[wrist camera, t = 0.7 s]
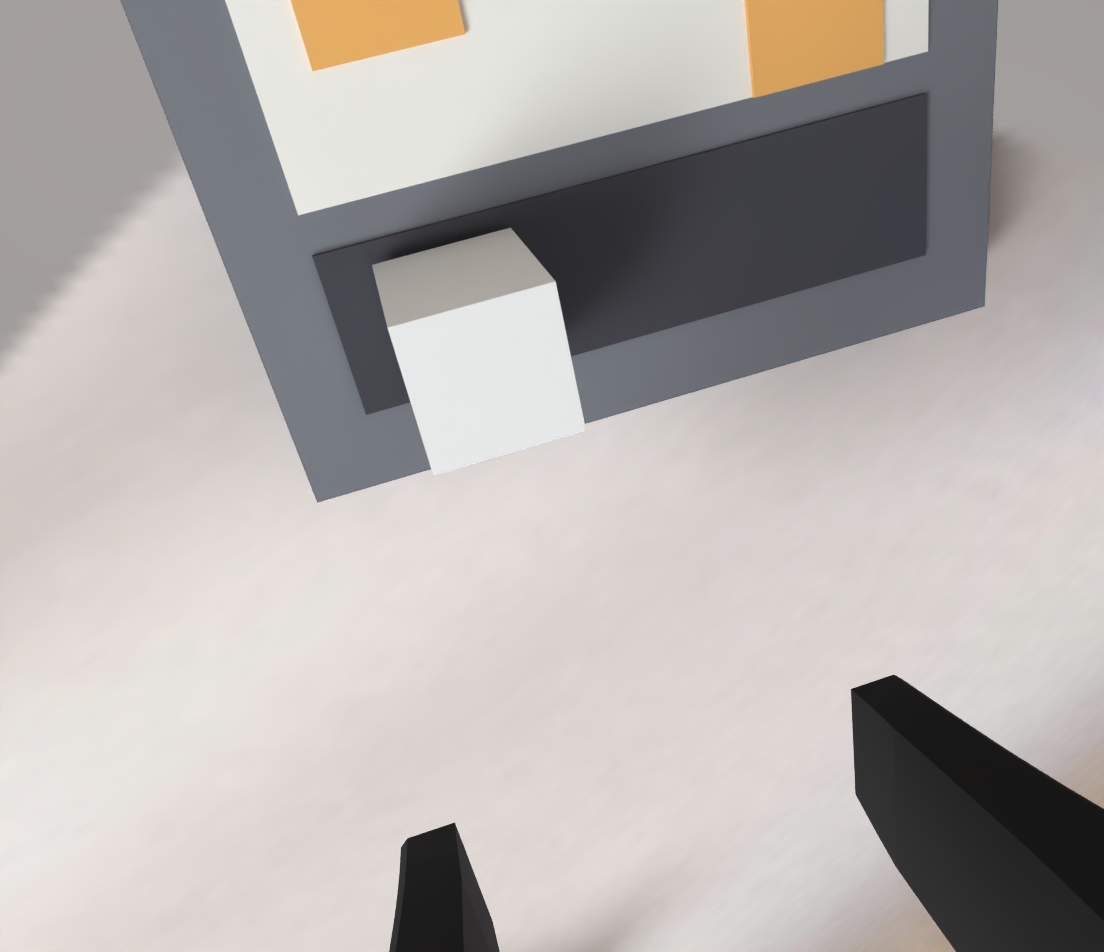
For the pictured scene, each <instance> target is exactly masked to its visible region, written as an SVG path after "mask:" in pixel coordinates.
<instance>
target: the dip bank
mask: <svg viewBox="0 0 1104 952" xmlns="http://www.w3.org/2000/svg"><path fill="white" fill-rule="evenodd" d="M121 3H122V5H123V8H124V11H125V13H126V16H127V18H128V21H129V23H130V26H131V29H132V31H133V34H134V36H135V39H136V41H137V43H138V46H139V49H140V51H141V54H142V56H143V59H144V62H145V64H146V67H147V69H148V72H149V74H150V77H151V79H152V82H153V85H154V87H155V90H156V92H157V95H158V97H159V100H160V102H161V105H162V108H163V110H164V113H165V115H166V118H167V120H168V123H169V125H170V128H171V130H172V133H173V135H174V138H175V141H176V143H177V146H178V148H179V151H180V153H181V156H182V159H183V161H184V164H185V166H186V169H187V171H188V174H189V176H190V179H191V181H192V184H193V187H194V189H195V192H196V194H197V197H198V199H199V202H200V204H201V207H202V210H203V212H204V215H205V217H206V220H207V222H208V225H209V227H210V230H211V232H212V235H213V238H214V240H215V243H216V245H217V248H218V250H219V253H220V255H221V258H222V261H223V263H224V266H225V268H226V271H227V273H228V276H229V278H230V281H231V283H232V286H233V289H234V291H235V294H236V296H237V299H238V301H239V304H240V306H241V309H242V311H243V314H244V317H245V319H246V322H247V324H248V327H249V329H250V332H251V334H252V337H253V340H254V342H255V345H256V347H257V350H258V352H259V355H260V357H261V360H262V362H263V365H264V368H265V370H266V373H267V375H268V378H269V380H270V383H271V385H272V388H273V391H274V393H275V396H276V398H277V401H278V403H279V406H280V408H281V411H282V413H283V416H284V419H285V421H286V424H287V426H288V429H289V431H290V434H291V436H292V439H293V442H294V444H295V447H296V449H297V452H298V454H299V457H300V459H301V462H302V464H303V467H304V470H305V472H306V475H307V477H308V480H309V482H310V485H311V487H312V490H313V492H314V495H315V498H316V500H317V502H321V501H324V500H328V499H331V498H334V497H338V496H341V495H345V494H348V493H351V492H355V491H358V490H362V489H365V488H368V487H372V486H375V485H379V484H382V483H385V482H389V481H392V480H396V479H399V478H402V477H406V476H409V475H413V474H416V473H419V472H423V471H426V470H430V469H431V467H430V463H429V460H428V457H427V454H426V450H425V447H424V444H423V441H422V438H421V434H420V431H419V428H418V425H417V421H416V418H415V415H414V412H413V409H412V405H411V402H410V399H409V396H408V392H407V389H406V386H405V383H404V379H403V376H402V373H401V370H400V367H399V363H398V360H397V357H396V354H395V350H394V347H393V344H392V341H391V338H390V334H389V331H388V328H387V324H386V320H385V316H384V312H383V308H382V304H381V300H380V296H379V292H378V288H377V284H376V280H375V276H374V272H373V268H372V265H373V264H377V263H381V262H384V261H388V260H392V259H395V258H399V257H403V256H407V255H410V254H414V253H418V252H422V251H425V250H429V249H433V248H436V247H440V246H444V245H448V244H451V243H455V242H459V241H463V240H466V239H470V238H474V237H477V236H481V235H485V234H489V233H492V232H496V231H500V230H504V229H507V228H511V229H512V230H513V231H514V232H515V233H516V235H517V236H518V237H519V238H520V239H521V241H522V242H523V243H524V244H525V245H526V247H527V248H528V249H529V250H530V251H531V253H532V254H533V255H534V256H535V257H536V259H537V260H538V261H539V262H540V263H541V265H542V266H543V267H544V268H545V269H546V270H547V272H548V273H549V274H550V275H551V276H552V278H553V279H554V280H555V281H556V286H557V291H558V296H559V300H560V305H561V310H562V315H563V320H564V325H565V330H566V335H567V340H568V345H569V349H570V354H571V359H572V364H573V369H574V374H575V379H576V384H577V389H578V394H579V398H580V403H581V408H582V413H583V418H584V423H585V424H586V423H589V422H593V421H596V420H599V419H603V418H606V417H610V416H613V415H616V414H620V413H623V412H627V411H630V410H633V409H637V408H640V407H644V406H647V405H650V404H654V403H657V402H661V401H664V400H667V399H671V398H674V397H678V396H681V395H684V394H688V393H691V392H695V391H698V390H701V389H705V388H708V387H712V386H715V385H718V384H722V383H725V382H729V381H732V380H735V379H739V378H742V377H746V376H749V375H752V374H756V373H759V372H763V371H766V370H769V369H773V368H776V367H780V366H783V365H786V364H790V363H793V362H797V361H800V360H803V359H807V358H810V357H814V356H817V355H820V354H824V353H827V352H831V351H834V350H837V349H841V348H844V347H848V346H851V345H854V344H858V343H861V342H865V341H868V340H871V339H875V338H878V337H882V336H885V335H888V334H892V333H895V332H899V331H902V330H905V329H909V328H912V327H916V326H919V325H922V324H926V323H929V322H933V321H936V320H939V319H943V318H946V317H950V316H953V315H956V314H960V313H963V312H967V311H970V310H973V309H977V308H980V307H983V306H985V284H986V261H987V239H988V217H989V194H990V172H991V150H992V127H993V104H994V82H995V59H996V38H997V15H998V0H121Z"/></svg>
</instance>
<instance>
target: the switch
mask: <svg viewBox="0 0 1104 952" xmlns="http://www.w3.org/2000/svg"><path fill="white" fill-rule="evenodd" d="M372 268H373V272H374V276H375V280H376V284H377V288H378V292H379V296H380V300H381V304H382V308H383V312H384V316H385V320H386V324H387V328H388V331H389V334H390V338H391V341H392V344H393V347H394V350H395V354H396V357H397V360H398V363H399V367H400V370H401V373H402V376H403V379H404V383H405V386H406V389H407V392H408V396H409V399H410V402H411V405H412V409H413V412H414V415H415V418H416V421H417V425H418V428H419V431H420V434H421V438H422V441H423V444H424V447H425V450H426V454H427V457H428V460H429V463H430V467H431V470H432V473H433V476H435V475H438V474H442V473H445V472H449V471H452V470H455V469H459V468H462V467H466V466H469V465H472V464H476V463H479V462H482V461H486V460H489V459H493V458H496V457H499V456H503V455H506V454H510V453H513V452H516V451H520V450H523V449H527V448H530V447H533V446H537V445H540V444H543V443H547V442H550V441H554V440H557V439H560V438H564V437H567V436H571V435H574V434H577V433H581V432H584V431H586V428H585V423H584V418H583V413H582V408H581V403H580V398H579V394H578V389H577V384H576V379H575V374H574V369H573V364H572V359H571V354H570V349H569V345H568V340H567V335H566V330H565V325H564V320H563V315H562V310H561V305H560V300H559V296H558V291H557V286H556V281H555V280H554V279H553V278H552V276H551V275H550V274H549V273H548V272H547V270H546V269H545V268H544V267H543V266H542V265H541V263H540V262H539V261H538V260H537V259H536V257H535V256H534V255H533V254H532V253H531V251H530V250H529V249H528V248H527V247H526V245H525V244H524V243H523V242H522V241H521V239H520V238H519V237H518V236H517V235H516V233H515V232H514V231H513V230H512V229H511V228H507V229H504V230H500V231H496V232H492V233H489V234H485V235H481V236H477V237H474V238H470V239H466V240H463V241H459V242H455V243H451V244H448V245H444V246H440V247H436V248H433V249H429V250H425V251H422V252H418V253H414V254H410V255H407V256H403V257H399V258H395V259H392V260H388V261H384V262H381V263H377V264H373V265H372Z"/></svg>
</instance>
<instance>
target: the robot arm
mask: <svg viewBox="0 0 1104 952" xmlns="http://www.w3.org/2000/svg"><path fill="white" fill-rule="evenodd" d="M851 699H852V722H853V745H854V768H855V791H856V796H857V798H858V799H859V801H860V803H861V805H862V807H863V809H864V810H865V812H866V814H867V816H868V818H869V820H870V822H871V823H872V825H873V827H874V829H875V831H876V833H877V834H878V836H879V838H880V840H881V841H882V843H883V845H884V847H885V848H886V850H887V852H888V854H889V855H890V857H891V859H892V861H893V862H894V864H895V866H896V867H897V869H898V870H899V872H900V873H901V875H902V876H903V877H904V879H905V880H906V882H907V883H908V885H909V886H910V887H911V889H912V890H913V892H914V893H915V895H916V896H917V897H918V899H919V900H920V902H921V903H922V904H923V906H924V907H925V909H926V910H927V912H928V913H929V914H930V916H931V917H932V919H933V920H934V921H935V923H936V924H937V926H938V927H939V928H940V930H941V931H942V933H943V934H944V935H945V937H946V938H947V940H948V941H949V942H950V944H951V945H952V947H953V948H954V949H955V951H956V952H1104V809H1103V808H1101V807H1100V806H1098V805H1096V804H1094V803H1093V802H1091V801H1089V800H1088V799H1086V798H1084V797H1083V796H1081V795H1079V794H1078V793H1076V792H1074V791H1072V790H1071V789H1069V788H1067V787H1066V786H1064V785H1063V784H1061V783H1059V782H1058V781H1056V780H1055V779H1053V778H1051V777H1050V776H1048V775H1047V774H1045V773H1043V772H1042V771H1040V770H1038V769H1037V768H1035V767H1034V766H1032V765H1030V764H1029V763H1027V762H1026V761H1024V760H1022V759H1021V758H1019V757H1018V756H1016V755H1014V754H1013V753H1011V752H1010V751H1008V750H1007V749H1005V748H1004V747H1002V746H1000V745H999V744H997V743H996V742H994V741H993V740H991V739H990V738H988V737H987V736H985V735H984V734H982V733H981V732H979V731H978V730H976V729H975V728H973V727H972V726H970V725H969V724H967V723H966V722H964V721H963V720H961V719H960V718H958V717H957V716H955V715H954V714H952V713H951V712H949V711H948V710H946V709H945V708H943V707H942V706H941V705H939V704H938V703H936V702H935V701H933V700H932V699H930V698H929V697H927V696H926V695H924V694H923V693H921V692H920V691H919V690H917V689H916V688H914V687H913V686H911V685H910V684H908V683H907V682H905V681H904V680H902V679H901V678H899V677H897V676H895V675H891V676H888V677H886V678H883V679H880V680H877V681H874V682H871V683H868V684H865V685H862V686H859V687H856V688H853V689H851ZM389 952H499V947H498V943H497V939H496V934H495V930H494V926H493V922H492V919H491V916H490V914H489V911H488V908H487V906H486V903H485V901H484V898H483V895H482V893H481V890H480V888H479V885H478V882H477V880H476V877H475V875H474V872H473V869H472V867H471V864H470V861H469V859H468V856H467V854H466V851H465V848H464V846H463V843H462V841H461V838H460V835H459V833H458V830H457V827H456V825H455V823H452V824H449V825H446V826H443V827H440V828H437V829H434V830H431V831H428V832H425V833H422V834H420V835H417V836H414V837H411V838H408V839H407V840H406V841H405V843H404V844H403V846H402V847H401V859H400V874H399V885H398V895H397V903H396V911H395V918H394V925H393V931H392V938H391V944H390V951H389Z"/></svg>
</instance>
